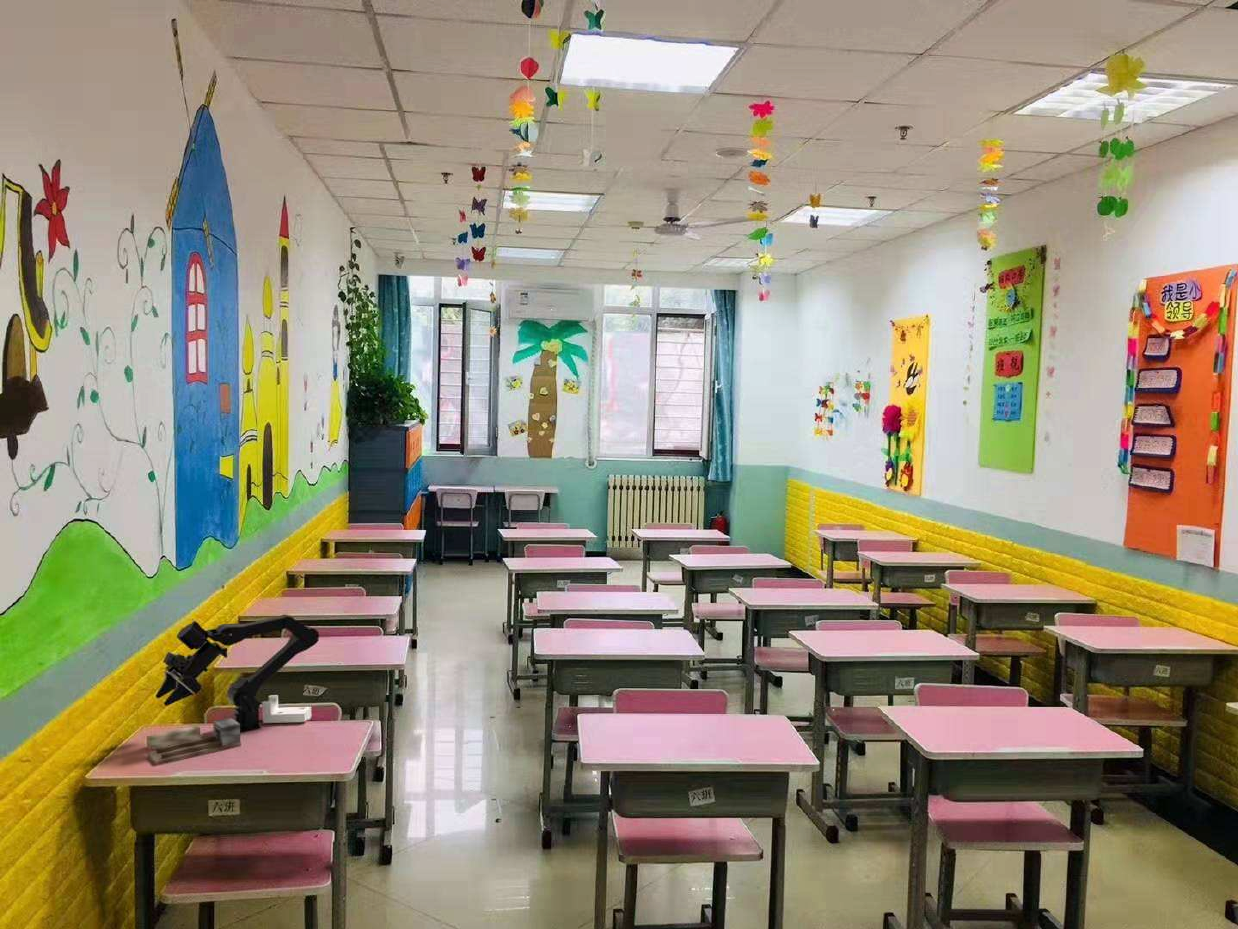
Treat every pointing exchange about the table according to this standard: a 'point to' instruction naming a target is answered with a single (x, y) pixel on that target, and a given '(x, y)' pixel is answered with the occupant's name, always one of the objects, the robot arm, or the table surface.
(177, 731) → the grey beige long block
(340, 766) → the table surface
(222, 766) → the table surface
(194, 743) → the base
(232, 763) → the table surface
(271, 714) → the bracket
